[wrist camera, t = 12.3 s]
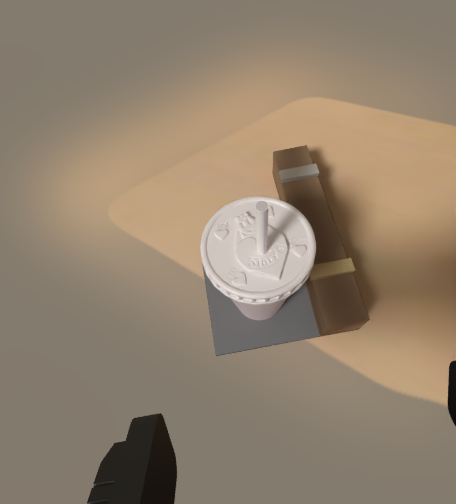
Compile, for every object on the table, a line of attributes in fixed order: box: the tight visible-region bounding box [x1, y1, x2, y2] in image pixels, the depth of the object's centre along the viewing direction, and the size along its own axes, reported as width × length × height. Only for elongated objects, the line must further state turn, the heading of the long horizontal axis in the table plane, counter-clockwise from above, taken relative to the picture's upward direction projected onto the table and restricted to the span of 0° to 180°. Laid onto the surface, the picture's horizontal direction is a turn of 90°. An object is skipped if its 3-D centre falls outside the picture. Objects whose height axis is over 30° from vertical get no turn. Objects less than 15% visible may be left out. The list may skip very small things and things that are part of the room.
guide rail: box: [273, 145, 370, 336], centre depth 27 cm, size 3×16×3 cm, turn 9°
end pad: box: [203, 266, 320, 356], centre depth 27 cm, size 8×8×1 cm
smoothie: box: [200, 196, 316, 320], centre depth 20 cm, size 6×6×14 cm
